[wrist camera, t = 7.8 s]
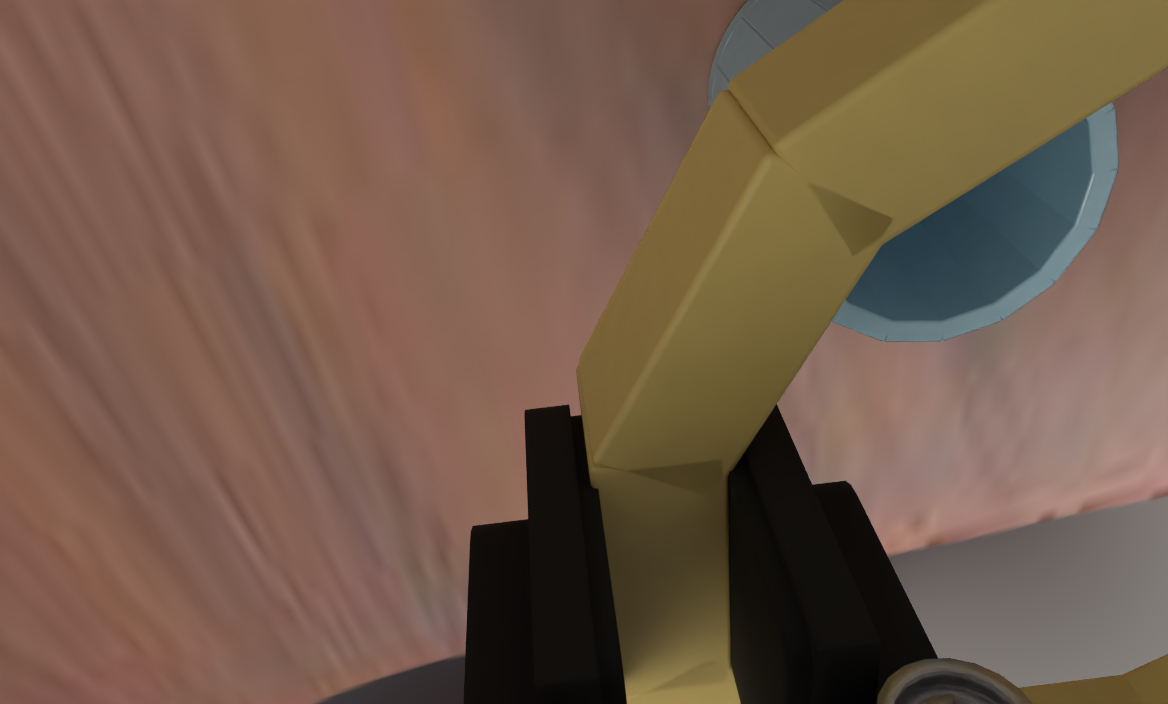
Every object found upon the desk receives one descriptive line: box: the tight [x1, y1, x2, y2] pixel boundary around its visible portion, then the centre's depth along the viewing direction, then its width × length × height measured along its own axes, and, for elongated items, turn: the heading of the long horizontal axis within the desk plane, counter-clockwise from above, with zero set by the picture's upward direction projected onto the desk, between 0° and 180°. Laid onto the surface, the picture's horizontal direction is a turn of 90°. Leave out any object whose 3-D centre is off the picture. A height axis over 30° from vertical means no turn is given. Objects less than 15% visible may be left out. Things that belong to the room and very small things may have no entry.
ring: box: [576, 0, 1168, 704], centre depth 11 cm, size 13×13×2 cm
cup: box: [708, 0, 1119, 342], centre depth 20 cm, size 6×6×8 cm
